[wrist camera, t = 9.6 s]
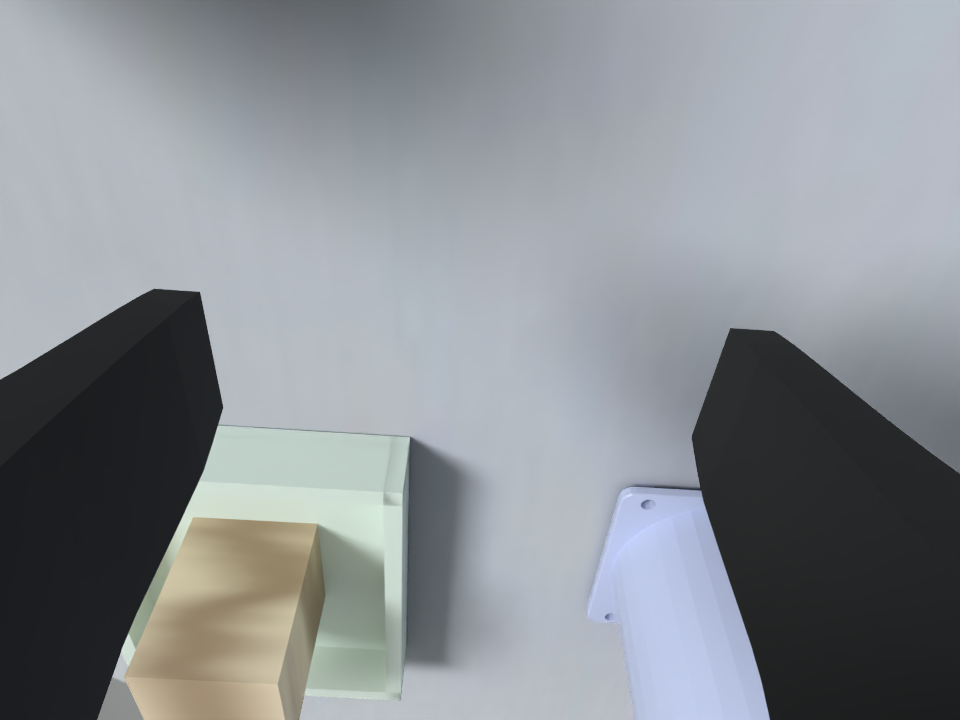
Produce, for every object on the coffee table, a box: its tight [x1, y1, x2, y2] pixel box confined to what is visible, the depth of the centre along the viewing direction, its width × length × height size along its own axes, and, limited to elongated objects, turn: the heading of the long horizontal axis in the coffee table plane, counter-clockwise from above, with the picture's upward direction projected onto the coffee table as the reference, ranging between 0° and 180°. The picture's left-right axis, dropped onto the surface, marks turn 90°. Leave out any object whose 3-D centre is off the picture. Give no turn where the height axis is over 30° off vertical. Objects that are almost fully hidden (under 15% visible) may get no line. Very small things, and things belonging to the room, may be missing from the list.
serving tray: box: [121, 425, 410, 700], centre depth 26 cm, size 11×13×2 cm
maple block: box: [124, 517, 326, 720], centre depth 24 cm, size 4×4×6 cm
